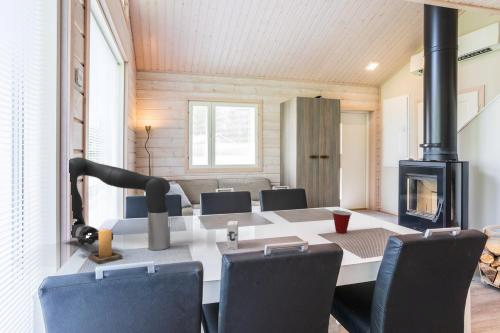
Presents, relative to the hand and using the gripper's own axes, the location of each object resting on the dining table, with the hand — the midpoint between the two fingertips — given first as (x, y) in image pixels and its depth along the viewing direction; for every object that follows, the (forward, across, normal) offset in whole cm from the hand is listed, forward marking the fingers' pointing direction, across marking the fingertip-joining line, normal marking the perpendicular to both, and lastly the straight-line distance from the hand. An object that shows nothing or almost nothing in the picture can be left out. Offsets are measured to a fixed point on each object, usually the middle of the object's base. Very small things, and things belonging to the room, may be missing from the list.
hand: (101, 240), depth 138 cm
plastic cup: (+56, +110, +8) cm, 124 cm away
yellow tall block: (+3, 0, +7) cm, 8 cm away
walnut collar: (+3, 0, +7) cm, 8 cm away
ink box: (+31, +49, +8) cm, 58 cm away
